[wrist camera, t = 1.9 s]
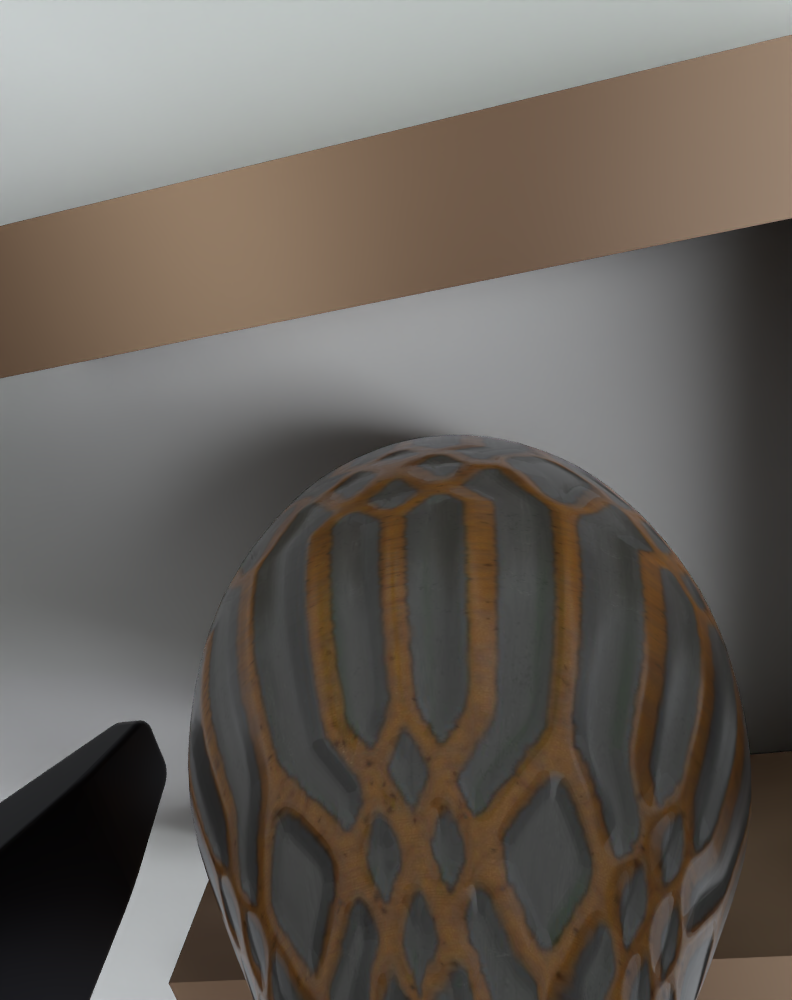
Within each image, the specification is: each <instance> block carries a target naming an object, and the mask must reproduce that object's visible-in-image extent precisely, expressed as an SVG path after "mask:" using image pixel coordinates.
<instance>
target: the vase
mask: <svg viewBox="0 0 792 1000" xmlns="http://www.w3.org/2000/svg"><path fill="white" fill-rule="evenodd" d="M188 771H189V791H190V803H191V810H192V815H193V820H194V826H195V831H196V836H197V841H198V846H199V849H200V853H201V856H202V860H203V863H204V866H205V869H206V872H207V876H208V879H209V882H210V885H211V888H212V891H213V893H214V896H215V899H216V902H217V905H218V907H219V910H220V913H221V916H222V918H223V921H224V924H225V927H226V929H227V932H228V935H229V937H230V940H231V943H232V945H233V948H234V951H235V954H236V956H237V959H238V961H239V964H240V966H241V969H242V971H243V974H244V976H245V979H246V981H247V984H248V986H249V989H250V992H251V995H252V997H253V1000H697V998H698V995H699V993H700V990H701V988H702V985H703V983H704V980H705V977H706V975H707V972H708V969H709V967H710V964H711V961H712V958H713V956H714V953H715V950H716V947H717V944H718V942H719V939H720V936H721V933H722V930H723V928H724V925H725V922H726V919H727V916H728V913H729V910H730V907H731V904H732V901H733V898H734V895H735V891H736V888H737V885H738V881H739V878H740V874H741V870H742V867H743V863H744V858H745V852H746V846H747V840H748V833H749V826H750V820H751V761H750V751H749V743H748V735H747V728H746V722H745V717H744V712H743V707H742V702H741V698H740V693H739V688H738V684H737V681H736V678H735V674H734V671H733V667H732V664H731V661H730V658H729V655H728V651H727V648H726V645H725V643H724V640H723V638H722V635H721V633H720V630H719V628H718V626H717V623H716V621H715V619H714V617H713V615H712V613H711V610H710V608H709V606H708V604H707V602H706V600H705V599H704V597H703V595H702V593H701V591H700V589H699V588H698V586H697V585H696V583H695V582H694V580H693V579H692V577H691V576H690V574H689V573H688V571H687V570H686V568H685V567H684V565H683V564H682V562H681V561H680V560H679V558H678V557H677V555H676V554H675V553H674V552H673V550H672V549H671V548H670V547H669V545H668V544H667V543H666V542H665V540H664V539H663V538H662V537H661V536H660V535H659V534H658V533H657V531H656V530H655V529H654V528H653V527H652V526H651V525H650V524H649V523H648V522H647V521H646V520H645V519H644V518H643V517H642V516H641V514H640V513H639V512H638V511H636V510H635V509H634V508H633V507H632V506H631V505H630V504H628V503H627V502H626V501H625V500H624V499H623V498H622V497H620V496H619V495H618V494H617V493H616V492H614V491H613V490H612V489H611V488H610V487H608V486H607V485H605V484H604V483H603V482H601V481H600V480H599V479H597V478H596V477H594V476H593V475H591V474H589V473H588V472H586V471H585V470H583V469H581V468H580V467H578V466H576V465H574V464H572V463H570V462H568V461H566V460H564V459H562V458H559V457H557V456H554V455H552V454H549V453H547V452H544V451H541V450H539V449H536V448H533V447H530V446H526V445H523V444H520V443H516V442H512V441H507V440H503V439H497V438H491V437H484V436H471V435H445V436H431V437H425V438H418V439H412V440H408V441H404V442H399V443H396V444H392V445H389V446H386V447H383V448H380V449H377V450H375V451H373V452H370V453H368V454H365V455H363V456H360V457H358V458H356V459H354V460H352V461H350V462H348V463H346V464H344V465H342V466H340V467H338V468H337V469H335V470H334V471H332V472H330V473H329V474H327V475H325V476H324V477H323V478H321V479H320V480H318V481H317V482H316V483H314V484H313V485H311V486H310V487H309V488H308V489H307V490H306V491H304V492H303V493H302V494H301V495H300V496H299V497H298V498H297V499H296V500H295V501H293V502H292V503H291V504H290V505H289V506H288V507H287V508H286V509H285V510H284V511H283V512H282V513H281V514H280V516H279V517H278V518H277V519H276V520H275V521H274V522H273V523H272V524H271V526H270V527H269V528H268V529H267V530H266V532H265V533H264V534H263V535H262V537H261V538H260V539H259V541H258V542H257V543H256V544H255V546H254V547H253V548H252V550H251V551H250V553H249V554H248V556H247V557H246V559H245V560H244V561H243V563H242V565H241V566H240V568H239V570H238V571H237V573H236V575H235V577H234V578H233V580H232V582H231V584H230V585H229V587H228V589H227V591H226V593H225V594H224V597H223V599H222V601H221V603H220V606H219V608H218V610H217V613H216V615H215V618H214V621H213V623H212V626H211V629H210V631H209V635H208V638H207V641H206V644H205V647H204V651H203V655H202V659H201V663H200V668H199V672H198V677H197V681H196V686H195V693H194V699H193V706H192V713H191V722H190V735H189V752H188Z"/></svg>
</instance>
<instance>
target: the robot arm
mask: <svg viewBox="0 0 792 1000" xmlns="http://www.w3.org/2000/svg"><path fill="white" fill-rule="evenodd" d="M166 775H167V772H166V764H165V761H164V759H163V756H162V754H161V751H160V749H159V746H158V744H157V742H156V739H155V737H154V734H153V732H152V729H151V727H150V725H149V724H147V723H146V722H145V721H141V720H139V721H130V722H121V723H117V724H115V725H113V726H111V727H110V728H108V729H107V730H106V731H104V732H103V733H101V734H100V735H98V736H97V737H95V738H94V739H92V740H91V741H90V742H88V743H87V744H85V745H84V746H82V747H81V748H79V749H78V750H76V751H75V752H74V753H72V754H71V755H69V756H68V757H66V758H65V759H63V760H62V761H60V762H59V763H57V764H56V765H55V766H53V767H52V768H50V769H49V770H47V771H46V772H44V773H43V774H41V775H40V776H39V777H37V778H36V779H34V780H33V781H31V782H30V783H28V784H27V785H25V786H24V787H23V788H21V789H20V790H18V791H17V792H15V793H14V794H12V795H11V796H9V797H8V798H7V799H5V800H4V801H2V802H1V803H0V1000H90V998H91V995H92V993H93V990H94V988H95V985H96V983H97V980H98V978H99V975H100V973H101V970H102V968H103V965H104V963H105V960H106V958H107V955H108V953H109V950H110V948H111V945H112V943H113V940H114V938H115V935H116V933H117V930H118V928H119V925H120V923H121V920H122V918H123V915H124V913H125V910H126V907H127V905H128V902H129V899H130V897H131V894H132V891H133V888H134V885H135V882H136V879H137V876H138V873H139V870H140V866H141V863H142V860H143V856H144V853H145V850H146V846H147V843H148V839H149V836H150V833H151V829H152V826H153V823H154V819H155V816H156V813H157V809H158V806H159V803H160V799H161V796H162V793H163V789H164V786H165V782H166Z"/></svg>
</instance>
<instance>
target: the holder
mask: <svg viewBox="0 0 792 1000" xmlns="http://www.w3.org/2000/svg"><path fill="white" fill-rule="evenodd" d="M790 218H792V35H789V36H785V37H780V38H776V39H772V40H768V41H764V42H760V43H756V44H751V45H747V46H743V47H739V48H735V49H731V50H727V51H722V52H718V53H714V54H710V55H706V56H702V57H698V58H694V59H689V60H685V61H681V62H677V63H673V64H669V65H665V66H660V67H656V68H652V69H648V70H644V71H640V72H636V73H631V74H627V75H623V76H619V77H615V78H611V79H607V80H602V81H598V82H594V83H590V84H586V85H582V86H578V87H574V88H569V89H565V90H561V91H557V92H553V93H549V94H545V95H540V96H536V97H532V98H528V99H524V100H520V101H516V102H511V103H507V104H503V105H499V106H495V107H491V108H487V109H483V110H478V111H474V112H470V113H466V114H462V115H458V116H454V117H449V118H445V119H441V120H437V121H433V122H429V123H425V124H420V125H416V126H412V127H408V128H404V129H400V130H396V131H392V132H387V133H383V134H379V135H375V136H371V137H367V138H363V139H358V140H354V141H350V142H346V143H342V144H338V145H334V146H329V147H325V148H321V149H317V150H313V151H309V152H305V153H301V154H296V155H292V156H288V157H284V158H280V159H276V160H272V161H267V162H263V163H259V164H255V165H251V166H247V167H243V168H238V169H234V170H230V171H226V172H222V173H218V174H214V175H209V176H205V177H201V178H197V179H193V180H189V181H185V182H181V183H176V184H172V185H168V186H164V187H160V188H156V189H152V190H147V191H143V192H139V193H135V194H131V195H127V196H123V197H118V198H114V199H110V200H106V201H102V202H98V203H94V204H90V205H85V206H81V207H77V208H73V209H69V210H65V211H61V212H56V213H52V214H48V215H44V216H40V217H36V218H32V219H27V220H23V221H19V222H15V223H11V224H7V225H3V226H0V378H4V377H9V376H14V375H19V374H24V373H29V372H34V371H39V370H44V369H49V368H54V367H58V366H63V365H68V364H73V363H78V362H83V361H88V360H93V359H98V358H103V357H108V356H113V355H118V354H123V353H128V352H133V351H138V350H143V349H147V348H152V347H157V346H162V345H167V344H172V343H177V342H182V341H187V340H192V339H197V338H202V337H207V336H212V335H217V334H222V333H227V332H232V331H236V330H241V329H246V328H251V327H256V326H261V325H266V324H271V323H276V322H281V321H286V320H291V319H296V318H301V317H306V316H311V315H316V314H321V313H325V312H330V311H335V310H340V309H345V308H350V307H355V306H360V305H365V304H370V303H375V302H380V301H385V300H390V299H395V298H400V297H405V296H409V295H414V294H419V293H424V292H429V291H434V290H439V289H444V288H449V287H454V286H459V285H464V284H469V283H474V282H479V281H484V280H489V279H494V278H498V277H503V276H508V275H513V274H518V273H523V272H528V271H533V270H538V269H543V268H548V267H553V266H558V265H563V264H568V263H573V262H578V261H583V260H587V259H592V258H597V257H602V256H607V255H612V254H617V253H622V252H627V251H632V250H637V249H642V248H647V247H652V246H657V245H662V244H667V243H671V242H676V241H681V240H686V239H691V238H696V237H701V236H706V235H711V234H716V233H721V232H726V231H731V230H736V229H741V228H746V227H751V226H756V225H760V224H765V223H770V222H775V221H780V220H785V219H790ZM750 761H751V820H750V826H749V833H748V840H747V846H746V852H745V858H744V863H743V867H742V870H741V874H740V878H739V881H738V885H737V888H736V891H735V895H734V898H733V901H732V904H731V907H730V910H729V913H728V916H727V919H726V922H725V925H724V928H723V930H722V933H721V936H720V939H719V942H718V944H717V947H716V950H715V953H714V956H713V958H712V961H711V964H710V967H709V969H708V972H707V975H706V977H705V980H704V983H703V985H702V988H701V990H700V993H699V995H698V998H697V1000H792V751H787V752H776V753H764V754H753V755H750ZM169 985H170V987H171V989H172V991H173V993H174V995H175V997H176V999H177V1000H253V997H252V995H251V992H250V989H249V986H248V984H247V981H246V979H245V976H244V974H243V971H242V969H241V966H240V964H239V961H238V959H237V956H236V954H235V951H234V948H233V945H232V943H231V940H230V937H229V935H228V932H227V929H226V927H225V924H224V921H223V918H222V916H221V913H220V910H219V907H218V905H217V902H216V899H215V896H214V893H213V891H212V888H211V885H210V882H209V881H208V883H207V886H206V889H205V891H204V894H203V896H202V899H201V901H200V904H199V907H198V909H197V912H196V914H195V917H194V919H193V922H192V925H191V927H190V930H189V932H188V935H187V937H186V940H185V942H184V945H183V948H182V950H181V953H180V955H179V958H178V960H177V963H176V966H175V968H174V971H173V973H172V976H171V978H170V981H169Z"/></svg>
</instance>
